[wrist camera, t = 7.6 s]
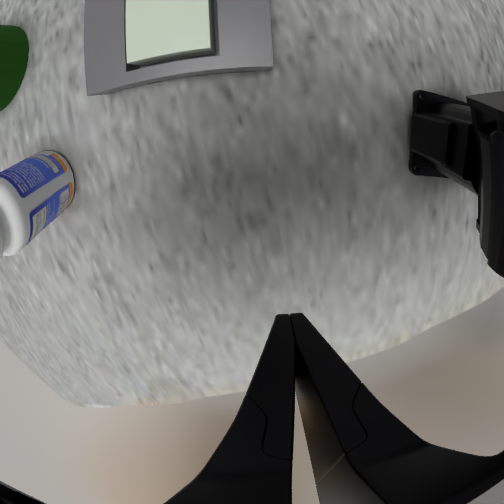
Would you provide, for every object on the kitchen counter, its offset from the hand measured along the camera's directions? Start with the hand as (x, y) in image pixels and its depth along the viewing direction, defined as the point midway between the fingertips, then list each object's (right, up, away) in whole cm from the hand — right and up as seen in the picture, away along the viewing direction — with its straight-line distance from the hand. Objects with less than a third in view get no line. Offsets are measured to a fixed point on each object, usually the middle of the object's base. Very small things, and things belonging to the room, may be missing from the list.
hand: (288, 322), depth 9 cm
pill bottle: (-17, +8, +9) cm, 21 cm away
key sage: (-6, +16, +3) cm, 17 cm away
